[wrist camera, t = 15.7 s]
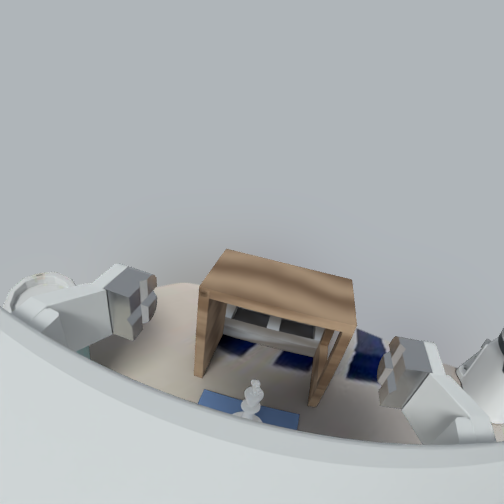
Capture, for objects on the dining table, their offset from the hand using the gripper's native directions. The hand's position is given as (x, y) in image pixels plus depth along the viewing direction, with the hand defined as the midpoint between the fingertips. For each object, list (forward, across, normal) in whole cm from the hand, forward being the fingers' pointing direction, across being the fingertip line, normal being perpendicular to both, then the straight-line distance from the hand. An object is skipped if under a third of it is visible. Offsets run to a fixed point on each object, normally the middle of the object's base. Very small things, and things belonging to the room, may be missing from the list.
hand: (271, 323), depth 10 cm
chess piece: (+12, 0, +28) cm, 30 cm away
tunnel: (+28, 0, +28) cm, 40 cm away
